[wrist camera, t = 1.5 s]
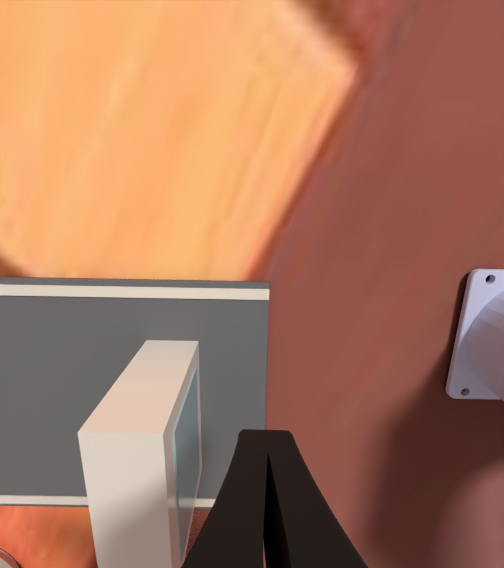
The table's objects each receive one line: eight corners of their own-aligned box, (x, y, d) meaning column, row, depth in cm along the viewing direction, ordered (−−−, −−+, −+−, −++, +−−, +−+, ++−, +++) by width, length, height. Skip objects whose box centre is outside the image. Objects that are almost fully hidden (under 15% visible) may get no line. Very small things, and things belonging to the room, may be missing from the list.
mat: (268, 281, 18) (269, 284, 17) (261, 503, 22) (262, 511, 22) (-85, 275, 18) (-97, 277, 17) (-25, 498, 22) (-33, 506, 22)
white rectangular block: (199, 340, 18) (164, 434, 11) (203, 467, 21) (176, 612, 14) (146, 340, 18) (77, 432, 11) (156, 466, 21) (104, 610, 14)
